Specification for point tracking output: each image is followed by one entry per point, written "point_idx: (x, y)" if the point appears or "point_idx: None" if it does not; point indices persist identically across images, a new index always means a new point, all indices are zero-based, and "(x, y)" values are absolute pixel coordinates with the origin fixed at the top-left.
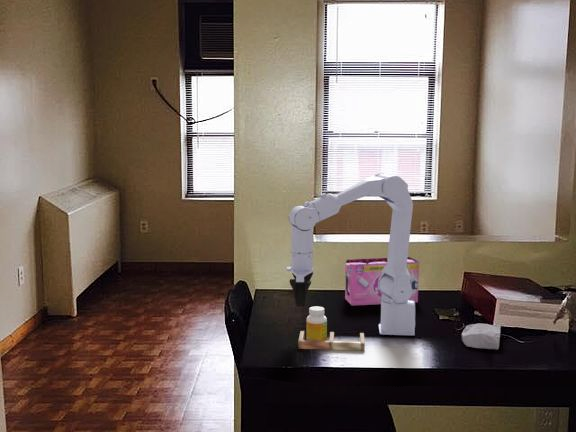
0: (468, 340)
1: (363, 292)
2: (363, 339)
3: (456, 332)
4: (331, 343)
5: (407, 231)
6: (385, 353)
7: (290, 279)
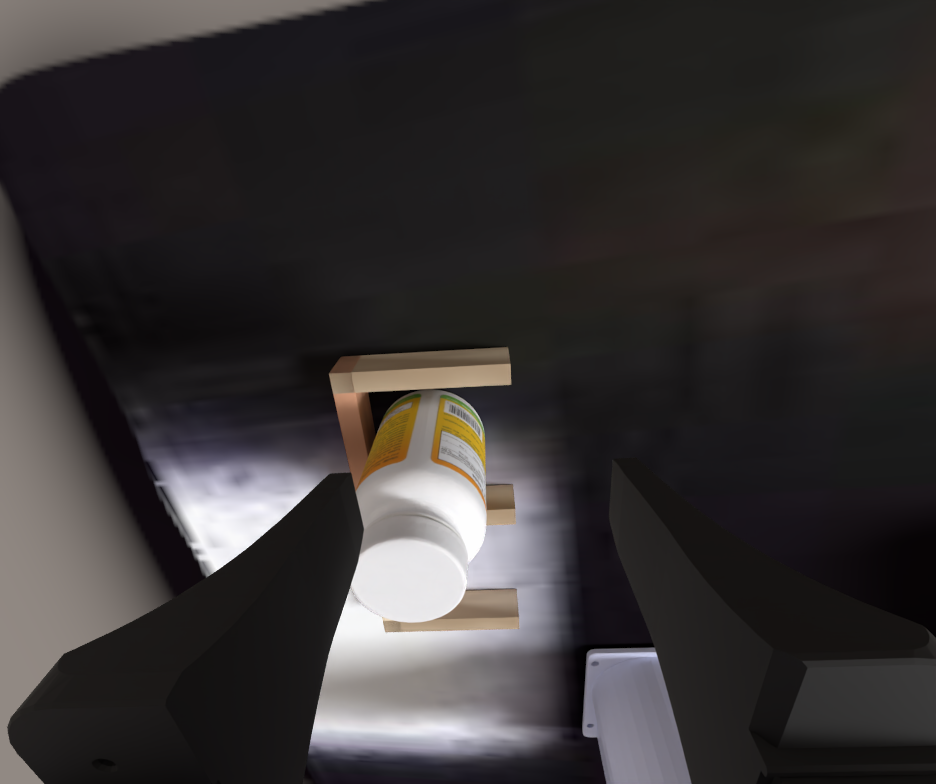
0: None
1: None
2: (433, 628)
3: None
4: None
5: None
6: (385, 657)
7: (139, 710)
